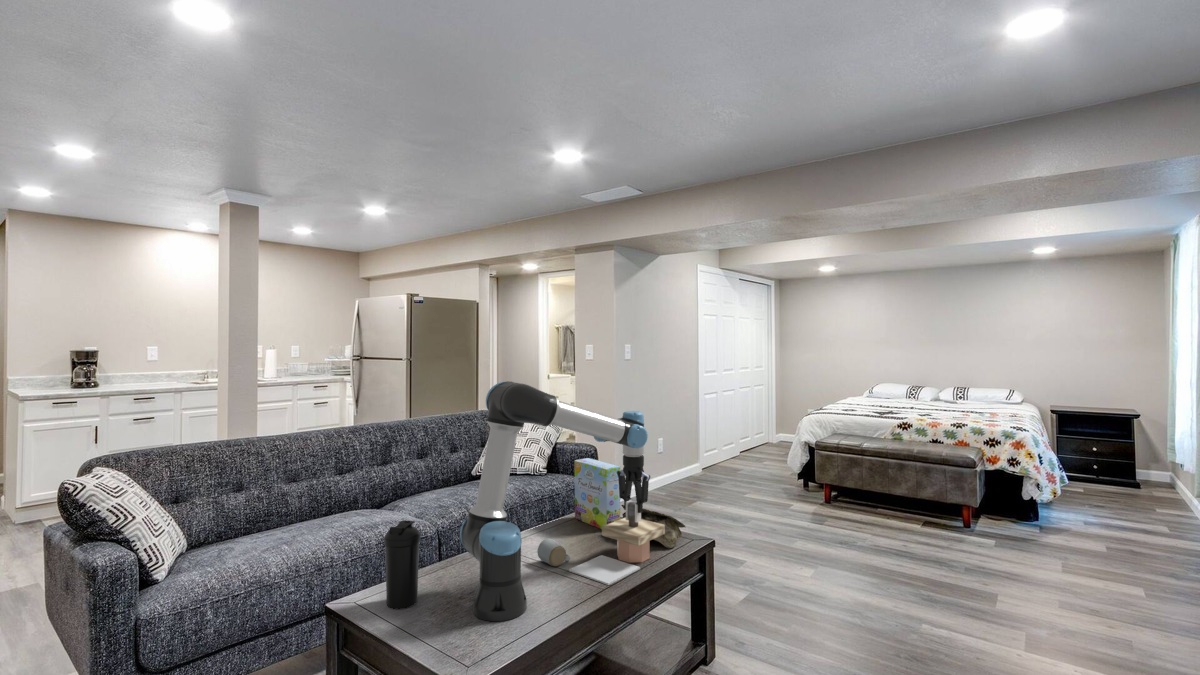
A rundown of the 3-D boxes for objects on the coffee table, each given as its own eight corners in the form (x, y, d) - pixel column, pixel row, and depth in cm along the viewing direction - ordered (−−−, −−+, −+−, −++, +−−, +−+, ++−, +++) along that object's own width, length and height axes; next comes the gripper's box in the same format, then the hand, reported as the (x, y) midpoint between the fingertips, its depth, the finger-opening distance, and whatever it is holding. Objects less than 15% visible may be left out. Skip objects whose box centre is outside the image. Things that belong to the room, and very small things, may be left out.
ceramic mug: (549, 570, 192) (550, 546, 192) (536, 562, 198) (537, 540, 198) (575, 563, 198) (575, 540, 199) (561, 556, 205) (562, 534, 205)
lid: (638, 545, 193) (638, 512, 193) (601, 535, 203) (601, 504, 203) (664, 533, 205) (664, 502, 205) (629, 524, 215) (629, 494, 216)
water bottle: (426, 596, 171) (427, 519, 172) (408, 612, 161) (408, 530, 162) (396, 593, 173) (396, 517, 174) (376, 609, 163) (376, 528, 164)
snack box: (572, 519, 247) (573, 459, 247) (588, 515, 252) (588, 457, 252) (605, 532, 230) (606, 468, 230) (621, 527, 236) (621, 465, 236)
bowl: (636, 564, 196) (636, 544, 196) (611, 557, 203) (611, 537, 203) (654, 555, 205) (654, 536, 205) (630, 548, 212) (630, 529, 212)
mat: (608, 585, 180) (608, 583, 180) (568, 571, 191) (568, 569, 191) (640, 568, 193) (640, 567, 193) (601, 556, 204) (601, 555, 204)
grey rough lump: (622, 543, 231) (603, 521, 224) (636, 516, 238) (619, 494, 231) (677, 559, 212) (659, 536, 204) (691, 529, 218) (674, 506, 211)
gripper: (658, 456, 202) (658, 522, 202) (621, 450, 212) (621, 513, 212) (646, 459, 196) (646, 527, 196) (608, 453, 207) (608, 518, 207)
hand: (633, 520), depth 204 cm, fingers closed on lid, 3 cm apart
